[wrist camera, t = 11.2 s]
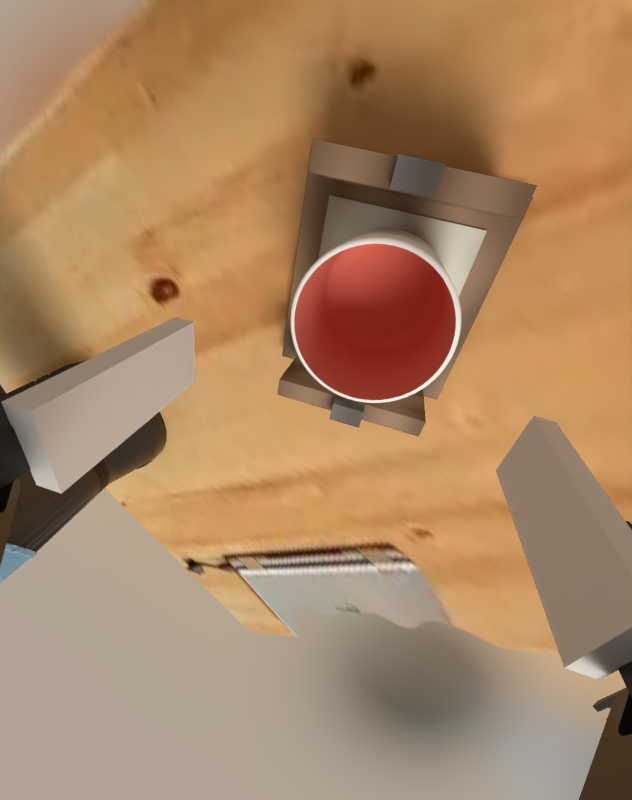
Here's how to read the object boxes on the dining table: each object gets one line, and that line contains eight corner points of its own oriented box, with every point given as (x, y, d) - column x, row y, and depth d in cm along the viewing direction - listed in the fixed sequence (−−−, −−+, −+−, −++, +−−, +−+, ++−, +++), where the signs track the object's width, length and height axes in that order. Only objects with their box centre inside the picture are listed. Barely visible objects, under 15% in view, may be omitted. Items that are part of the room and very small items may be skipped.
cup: (306, 315, 30) (267, 356, 22) (360, 201, 24) (335, 198, 16) (399, 367, 30) (395, 428, 22) (472, 267, 25) (504, 298, 17)
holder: (286, 350, 34) (249, 394, 26) (316, 152, 25) (271, 127, 17) (435, 392, 33) (444, 453, 25) (526, 197, 23) (588, 193, 15)
